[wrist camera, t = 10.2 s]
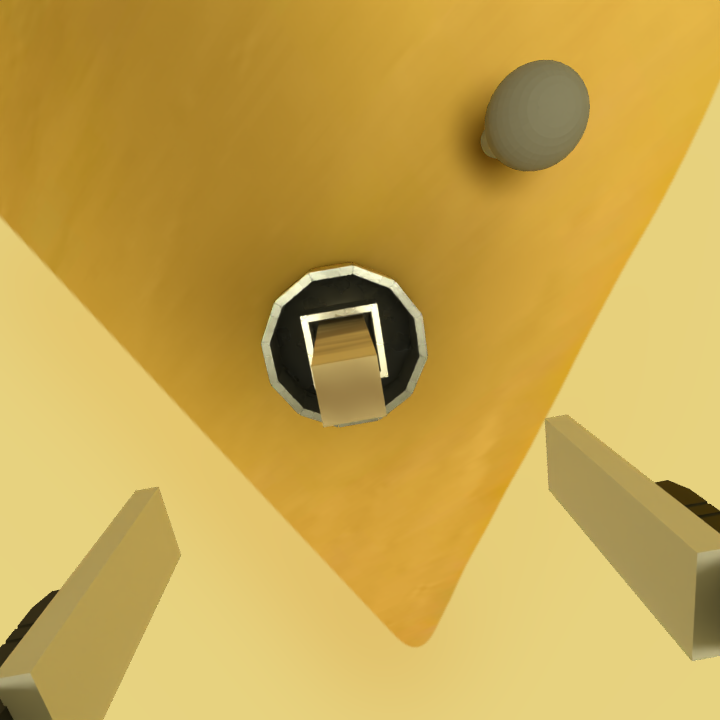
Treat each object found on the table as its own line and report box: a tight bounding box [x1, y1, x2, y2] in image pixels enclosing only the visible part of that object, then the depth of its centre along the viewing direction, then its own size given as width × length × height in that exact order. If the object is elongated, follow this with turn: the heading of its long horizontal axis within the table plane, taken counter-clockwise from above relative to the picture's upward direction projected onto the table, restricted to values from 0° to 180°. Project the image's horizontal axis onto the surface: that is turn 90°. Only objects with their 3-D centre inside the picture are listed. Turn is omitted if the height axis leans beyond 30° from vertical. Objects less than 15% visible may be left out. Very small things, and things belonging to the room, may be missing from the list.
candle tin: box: [261, 262, 428, 427], centre depth 36 cm, size 12×12×4 cm
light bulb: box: [481, 60, 590, 171], centre depth 30 cm, size 6×6×10 cm
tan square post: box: [311, 314, 387, 427], centre depth 31 cm, size 4×4×13 cm
